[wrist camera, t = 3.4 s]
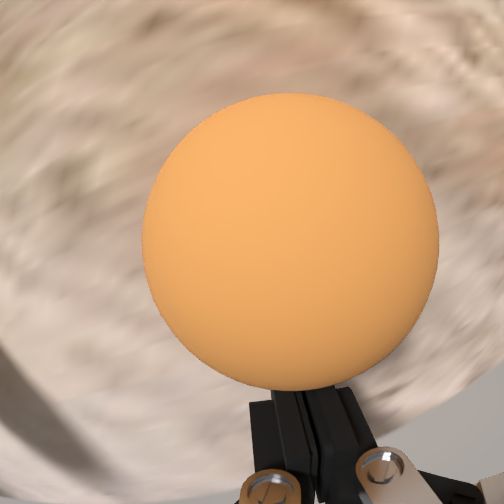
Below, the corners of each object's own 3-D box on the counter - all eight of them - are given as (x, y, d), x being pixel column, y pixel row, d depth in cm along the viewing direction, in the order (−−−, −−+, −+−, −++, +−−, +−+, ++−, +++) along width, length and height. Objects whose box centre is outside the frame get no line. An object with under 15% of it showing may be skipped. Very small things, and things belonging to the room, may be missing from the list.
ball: (192, 317, 10) (163, 469, 5) (157, 130, 9) (48, 100, 3) (368, 290, 10) (468, 405, 5) (358, 108, 9) (500, 73, 3)
